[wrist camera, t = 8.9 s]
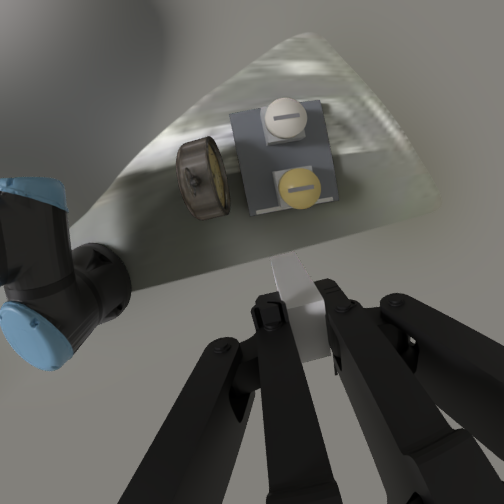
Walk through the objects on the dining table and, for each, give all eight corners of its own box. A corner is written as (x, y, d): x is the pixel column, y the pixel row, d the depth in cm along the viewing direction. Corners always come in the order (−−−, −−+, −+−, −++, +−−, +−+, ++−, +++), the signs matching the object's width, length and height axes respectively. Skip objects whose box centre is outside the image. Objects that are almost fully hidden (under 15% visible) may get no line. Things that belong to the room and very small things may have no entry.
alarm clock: (234, 207, 45) (224, 227, 29) (201, 215, 45) (175, 239, 29) (219, 140, 42) (200, 123, 26) (186, 149, 42) (151, 139, 26)
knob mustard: (278, 204, 42) (284, 212, 34) (272, 171, 41) (276, 171, 33) (311, 198, 42) (324, 205, 34) (305, 166, 40) (317, 165, 32)
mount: (250, 214, 45) (249, 222, 38) (229, 116, 40) (225, 106, 34) (335, 198, 44) (349, 204, 37) (317, 102, 40) (328, 91, 33)
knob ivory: (266, 145, 39) (270, 139, 32) (260, 113, 38) (261, 100, 30) (300, 140, 39) (311, 133, 31) (293, 108, 38) (302, 95, 30)
